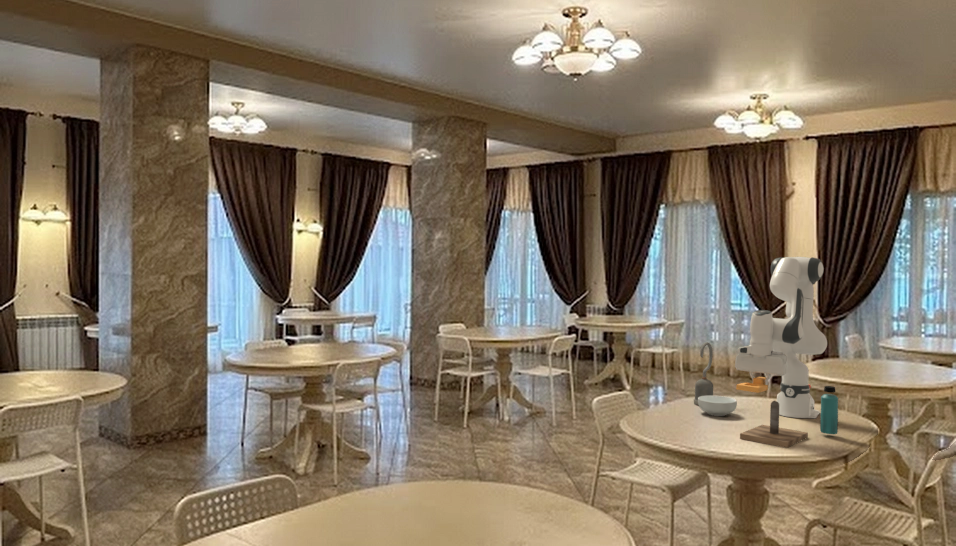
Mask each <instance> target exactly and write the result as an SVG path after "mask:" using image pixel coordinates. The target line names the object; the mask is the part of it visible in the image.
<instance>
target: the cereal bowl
mask: <svg viewBox="0 0 956 546" xmlns="http://www.w3.org/2000/svg"><path fill="white" fill-rule="evenodd" d="M737 401H738V400H737V399H736V398H734V397H730V396H724V395H723V396H722V395H713V396H700V397H698V405H697V406H698V407H699V408H700V409H701V410H702V411H703V412H705V413H706V414H708V415H710V416H713V415H714V416H715V417H725V415H726V416H727V415H728V414H732V413H733V412H735V410H736V408H737V406H738V405H737Z"/></svg>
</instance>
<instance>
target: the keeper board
mask: <svg viewBox="0 0 956 546" xmlns="http://www.w3.org/2000/svg"><path fill="white" fill-rule="evenodd" d="M769 413H770V416H769V418H770V419H769V425H767V424H761V425H758V426H755V427H753V428H751V429H748V430H746V431H743V432H740V433H739V439H740V440H745V441H750V442H756V443H762V444H764V445H765V444H766V445H771V446H776V447H782V448H789V447H793V446H794V445H796V444H798V443H800V442H802V441H804V440H806V439H808V438H809V437H808V436H809V433H808V432H807V431H801V430H800V431H799V430H796V429H795V430H794V429H788V428H783V427H780V415H779V403H778V402H777V400H774V401H772V402H770V412H769ZM805 438H806V439H805ZM803 439H804V440H803ZM801 440H802V441H801ZM799 441H800V442H799ZM797 442H798V443H797ZM795 443H796V444H795Z"/></svg>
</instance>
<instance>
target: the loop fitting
mask: <svg viewBox="0 0 956 546" xmlns="http://www.w3.org/2000/svg"><path fill="white" fill-rule="evenodd" d="M766 378H767V377H766V376H757V377H756V376H755V378H753V383H752V382H750V381H749V382H747V381H746V382H742V383H738V384H736V385H735V387H736V390H737V391H744V392H752V393H758V394H759V393H763V392H765V391H768V389H769V384H768V385H764V384H763V380H765V379H766Z"/></svg>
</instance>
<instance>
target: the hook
mask: <svg viewBox="0 0 956 546" xmlns="http://www.w3.org/2000/svg"><path fill="white" fill-rule="evenodd" d="M706 347H708V351H709V352H708V354H709V357H708V363H707V366H706V367H705V368H704V369H703V371H702V378H700V379H698V380H696V382H695V385H694V399H693V404H694V405H695V406H699V405H698V397H700V396H714V384H713V382H712V381H711V380H709V379H707V372H708V370H710V368H711V367H712V365H713V364H712V363H713V356H714V354H713V353H714V352H713V348H712V347H713V346H712V344H711V343H710V342H709V341H706V342H703V344H702V345H701V347H700V353H699V354H700V357H701V358H704V352H705V348H706Z"/></svg>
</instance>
